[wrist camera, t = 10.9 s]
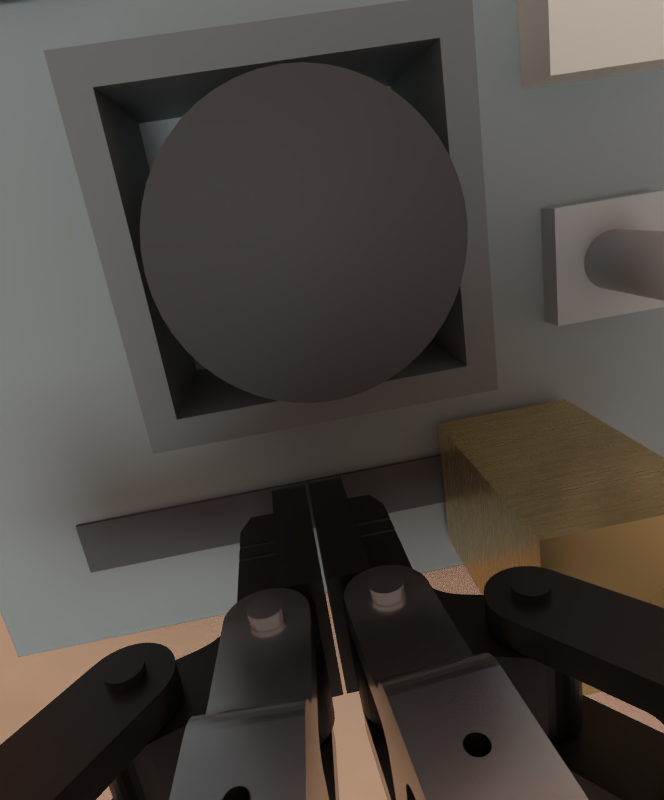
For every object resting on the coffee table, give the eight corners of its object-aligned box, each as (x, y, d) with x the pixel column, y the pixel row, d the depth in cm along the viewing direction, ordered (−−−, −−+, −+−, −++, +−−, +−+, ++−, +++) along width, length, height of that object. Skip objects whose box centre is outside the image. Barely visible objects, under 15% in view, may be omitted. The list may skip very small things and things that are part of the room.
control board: (654, -280, 12) (1059, -784, 6) (642, 483, 17) (847, 624, 11) (-242, -184, 10) (-880, -698, 5) (47, 604, 16) (-78, 834, 10)
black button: (394, 92, 10) (454, 38, 7) (420, 332, 11) (479, 374, 8) (147, 128, 9) (99, 90, 6) (202, 370, 10) (183, 428, 8)
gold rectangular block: (564, 399, 13) (735, 500, 9) (568, 514, 14) (723, 663, 9) (437, 423, 13) (539, 540, 8) (449, 539, 14) (547, 703, 9)
